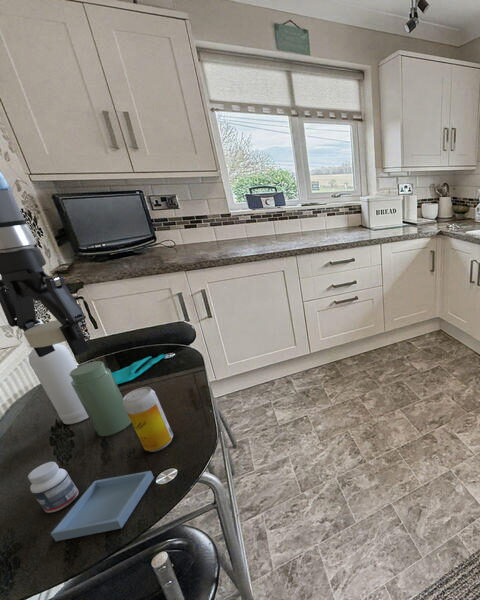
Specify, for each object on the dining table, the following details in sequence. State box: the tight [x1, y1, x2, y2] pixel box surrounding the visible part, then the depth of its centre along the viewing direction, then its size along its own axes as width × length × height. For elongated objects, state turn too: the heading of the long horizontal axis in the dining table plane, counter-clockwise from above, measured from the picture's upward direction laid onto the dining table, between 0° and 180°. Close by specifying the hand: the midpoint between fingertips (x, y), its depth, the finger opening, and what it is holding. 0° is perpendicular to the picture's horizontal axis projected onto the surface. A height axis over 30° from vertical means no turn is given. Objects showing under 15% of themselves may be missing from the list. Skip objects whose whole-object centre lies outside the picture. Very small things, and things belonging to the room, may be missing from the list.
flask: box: [70, 360, 132, 437], centre depth 85 cm, size 8×8×18 cm
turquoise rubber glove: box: [111, 353, 167, 385], centre depth 114 cm, size 26×14×2 cm, turn 132°
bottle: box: [28, 318, 90, 425], centre depth 89 cm, size 8×8×30 cm
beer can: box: [123, 386, 174, 453], centre depth 78 cm, size 6×6×15 cm
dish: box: [50, 470, 155, 542], centre depth 65 cm, size 11×11×2 cm
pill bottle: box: [27, 461, 79, 514], centre depth 66 cm, size 5×5×9 cm
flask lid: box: [23, 319, 67, 349], centre depth 69 cm, size 8×8×3 cm
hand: (64, 353), depth 71 cm, fingers closed on flask lid, 8 cm apart
